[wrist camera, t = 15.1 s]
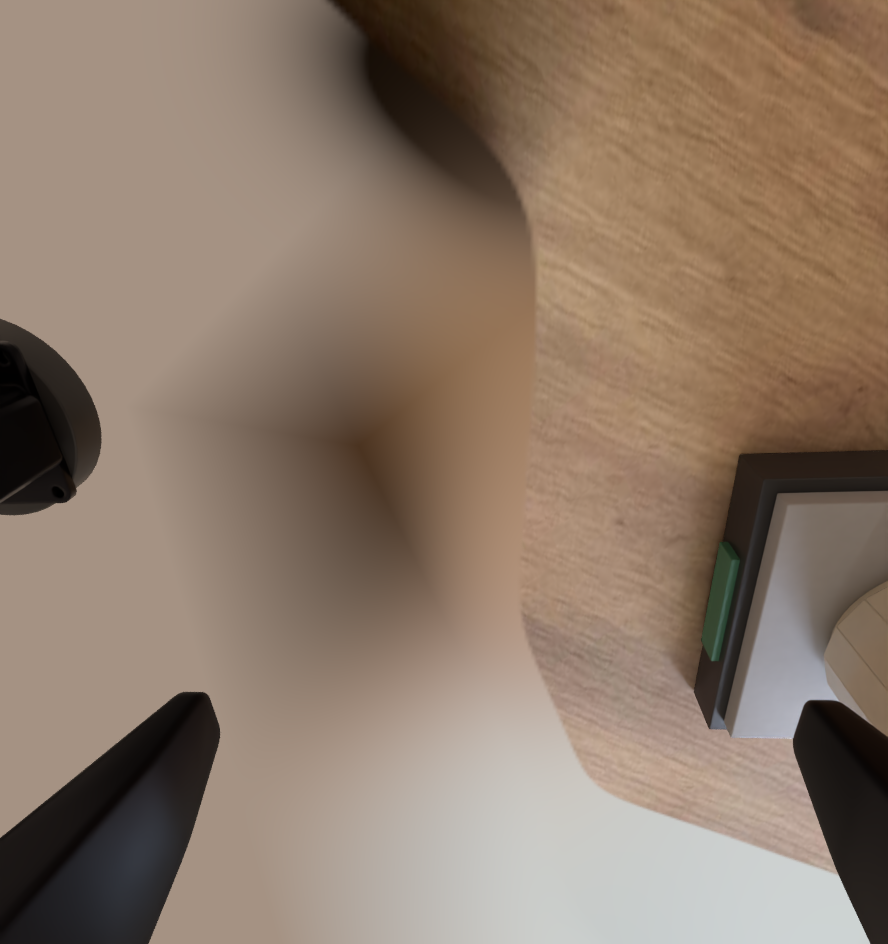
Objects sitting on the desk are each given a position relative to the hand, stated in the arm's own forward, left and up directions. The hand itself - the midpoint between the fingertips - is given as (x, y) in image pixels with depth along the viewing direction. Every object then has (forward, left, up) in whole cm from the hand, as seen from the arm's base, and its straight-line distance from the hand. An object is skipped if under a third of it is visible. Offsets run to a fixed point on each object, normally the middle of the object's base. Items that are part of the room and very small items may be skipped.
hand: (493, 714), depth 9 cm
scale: (+15, -8, -13) cm, 21 cm away
